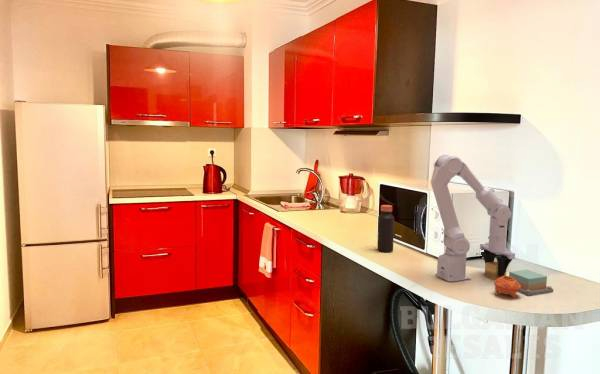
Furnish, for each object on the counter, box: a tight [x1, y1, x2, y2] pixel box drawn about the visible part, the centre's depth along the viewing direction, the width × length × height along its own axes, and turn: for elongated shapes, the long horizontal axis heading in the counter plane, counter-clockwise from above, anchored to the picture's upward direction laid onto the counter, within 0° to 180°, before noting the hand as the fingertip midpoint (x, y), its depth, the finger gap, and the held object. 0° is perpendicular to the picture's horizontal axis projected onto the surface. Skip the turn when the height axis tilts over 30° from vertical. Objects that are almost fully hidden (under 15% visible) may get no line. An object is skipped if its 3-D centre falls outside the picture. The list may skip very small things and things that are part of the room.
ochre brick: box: [484, 260, 507, 281], centre depth 164 cm, size 5×5×5 cm
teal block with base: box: [508, 269, 554, 297], centre depth 153 cm, size 11×11×5 cm
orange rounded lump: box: [493, 275, 521, 299], centre depth 147 cm, size 8×8×7 cm
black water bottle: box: [376, 204, 395, 253], centre depth 198 cm, size 7×7×20 cm
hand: (495, 273), depth 165 cm, fingers closed on ochre brick, 5 cm apart
